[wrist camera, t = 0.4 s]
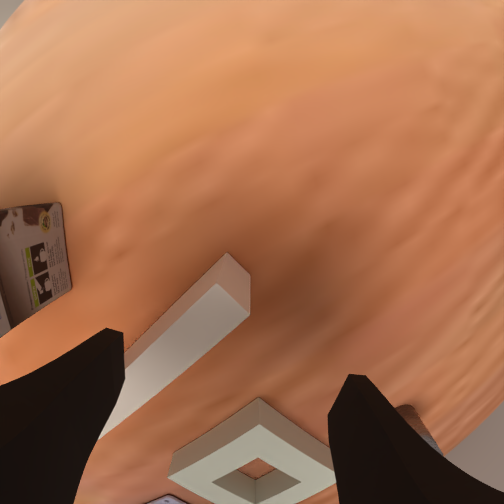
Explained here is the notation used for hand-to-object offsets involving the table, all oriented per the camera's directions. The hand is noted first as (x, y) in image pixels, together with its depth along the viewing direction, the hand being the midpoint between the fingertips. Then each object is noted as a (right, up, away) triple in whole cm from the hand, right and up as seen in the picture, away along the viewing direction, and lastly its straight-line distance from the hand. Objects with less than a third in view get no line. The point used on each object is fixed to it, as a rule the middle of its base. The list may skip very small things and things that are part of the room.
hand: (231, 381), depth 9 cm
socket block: (+1, -13, +13) cm, 19 cm away
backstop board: (-7, -3, +11) cm, 14 cm away
